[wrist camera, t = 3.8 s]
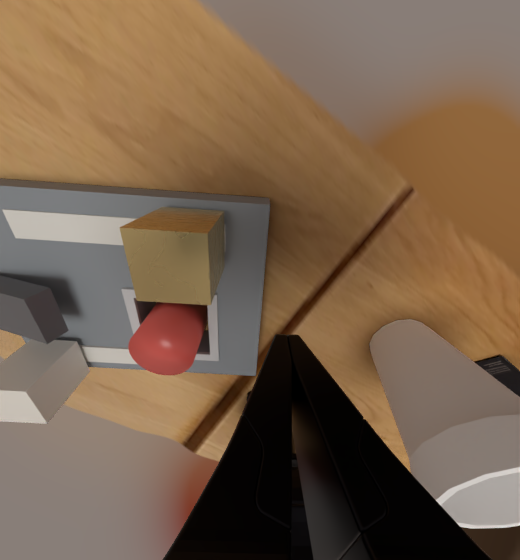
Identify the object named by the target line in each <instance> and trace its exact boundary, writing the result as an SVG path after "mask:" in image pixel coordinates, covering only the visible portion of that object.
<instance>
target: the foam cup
mask: <svg viewBox="0 0 520 560" xmlns="http://www.w3.org/2000/svg"><path fill="white" fill-rule="evenodd" d="M369 346H370V352H371V354H372V358H373V361H374V364H375V367H376V369H377V372H378V375H379V378H380V380H381V383H382V386H383V389H384V391H385V394H386V397H387V400H388V402H389V405H390V408H391V411H392V413H393V416H394V419H395V422H396V424H397V427H398V430H399V432H400V435H401V438H402V441H403V443H404V446H405V449H406V452H407V454H408V457H409V460H410V469H411V473H412V475H413V476H414V477H415V478H416V479H417V480H418V482H419V483H420V484H421V485H422V486H423V487H424V488H425V489H426V490H427V491H428V492H429V493H430V495H431V496H432V497H433V498H434V499H435V500H436V501H437V502H438V503H439V504H440V505H441V506H442V508H443V509H444V510H445V511H446V512H447V513H448V514H449V515H450V516H451V517H452V518H453V519H454V520H455V522H456V523H457V524H458V525H459V526H460V527H465V528H506V527H512V526H519V525H520V397H519V396H518V395H516V394H515V393H514V392H512V391H511V390H510V389H508V388H507V387H506V386H505V385H503V384H502V383H501V382H499V381H498V380H497V379H495V378H494V377H493V376H492V375H490V374H489V373H488V372H486V371H485V370H484V369H482V368H481V367H480V366H479V365H477V364H476V363H475V362H473V361H472V360H471V359H469V358H468V357H467V356H466V355H464V354H463V353H462V352H460V351H459V350H458V349H456V348H455V347H454V346H453V345H451V344H450V343H449V342H447V341H446V340H445V339H443V338H442V337H441V336H440V335H438V334H437V333H436V332H434V331H433V330H432V329H430V328H429V327H428V326H425V325H424V324H423V323H422V322H419V321H416V320H412V319H406V320H396V321H394V322H392V323H389V324H387V325H384V326H383V327H382V328H380V329H379V330H378V331H377V332H376V333H375V334H374V335H373V337H372V339H371V341H370V343H369Z"/></svg>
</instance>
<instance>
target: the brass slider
mask: <svg viewBox="0 0 520 560" xmlns="http://www.w3.org/2000/svg"><path fill="white" fill-rule="evenodd" d="M120 233H121V237H122V241H123V245H124V249H125V254H126V258H127V262H128V266H129V271H130V275H131V279H132V283H133V287H134V292H135V296H136V300H137V301H149V302H165V303H181V304H198V305H211V304H212V301H213V298H214V295H215V292H216V290H217V287H218V284H219V281H220V278H221V275H222V273H223V270H224V267H225V243H224V211H218V210H203V209H189V208H175V207H161V208H159V209H157V210H155V211H153V212H151V213H148V214H146V215H144V216H142V217H140V218H138V219H136V220H134V221H132V222H130V223H128V224H126V225H124V226H122V227H120Z"/></svg>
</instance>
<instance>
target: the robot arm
mask: <svg viewBox="0 0 520 560" xmlns="http://www.w3.org/2000/svg"><path fill="white" fill-rule="evenodd" d="M163 560H492V559H491V558H490V557H489V556H488V555H487V554H486V553H485V552H484V551H483V550H482V549H481V548H480V547H479V546H478V545H477V544H476V543H475V542H474V541H473V540H472V539H471V538H470V537H469V536H468V535H467V534H466V532H465V531H464V530H463V529H462V528H461V527H460V526H459V525H458V524H457V523H456V522H455V520H454V519H453V518H452V517H451V516H450V515H449V514H448V513H447V512H446V511H445V510H444V509H443V508H442V506H441V505H440V504H439V503H438V502H437V501H436V500H435V499H434V498H433V497H432V496H431V495H430V493H429V492H428V491H427V490H426V489H425V488H424V487H423V486H422V485H421V484H420V483H419V482H418V480H417V479H416V478H415V477H414V476H413V475H412V474H411V473H410V472H409V471H408V469H407V468H406V467H405V466H404V465H403V464H402V463H401V462H400V461H399V459H398V458H397V457H396V456H395V455H394V454H393V453H392V452H391V450H390V449H389V448H388V447H387V445H386V444H385V443H384V442H383V441H382V439H381V438H380V437H379V436H378V435H377V433H376V432H375V431H374V430H373V428H372V427H371V426H370V425H369V423H368V422H367V421H366V420H365V419H364V420H363V416H362V415H361V413H360V412H359V411H358V410H357V408H356V407H355V406H354V404H353V403H352V402H351V401H350V399H349V398H348V397H347V396H346V394H345V393H344V392H343V391H342V389H341V388H340V387H339V385H338V384H337V383H336V382H335V380H334V379H333V378H332V377H331V375H330V374H329V373H328V372H327V370H326V369H325V368H324V367H323V365H322V364H321V363H320V361H319V360H318V359H317V358H316V356H315V355H314V354H313V353H312V351H311V350H310V349H309V348H308V346H307V345H306V344H305V342H304V341H303V340H302V339H301V337H300V336H299V335H290V334H289V335H286V334H276V335H275V337H274V339H273V342H272V344H271V346H270V349H269V351H268V353H267V356H266V358H265V361H264V363H263V365H262V368H261V370H260V372H259V375H258V377H257V380H256V382H255V384H254V387H253V389H252V391H251V392H250V393H248V394H247V403H246V406H245V408H244V411H243V413H242V416H241V417H240V420H239V422H238V424H237V427H236V429H235V431H234V433H233V436H232V438H231V440H230V442H229V444H228V446H227V448H226V450H225V452H224V454H223V456H222V458H221V460H220V462H219V464H218V466H217V467H216V469H215V471H214V473H213V475H212V476H211V478H210V480H209V482H208V483H207V485H206V487H205V489H204V490H203V492H202V494H201V496H200V498H199V499H198V501H197V503H196V505H195V506H194V508H193V510H192V512H191V513H190V515H189V517H188V519H187V521H186V522H185V524H184V526H183V528H182V529H181V531H180V533H179V534H178V536H177V538H176V539H175V541H174V543H173V544H172V546H171V547H170V549H169V551H168V552H167V554H166V555H165V557H164V558H163Z"/></svg>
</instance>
